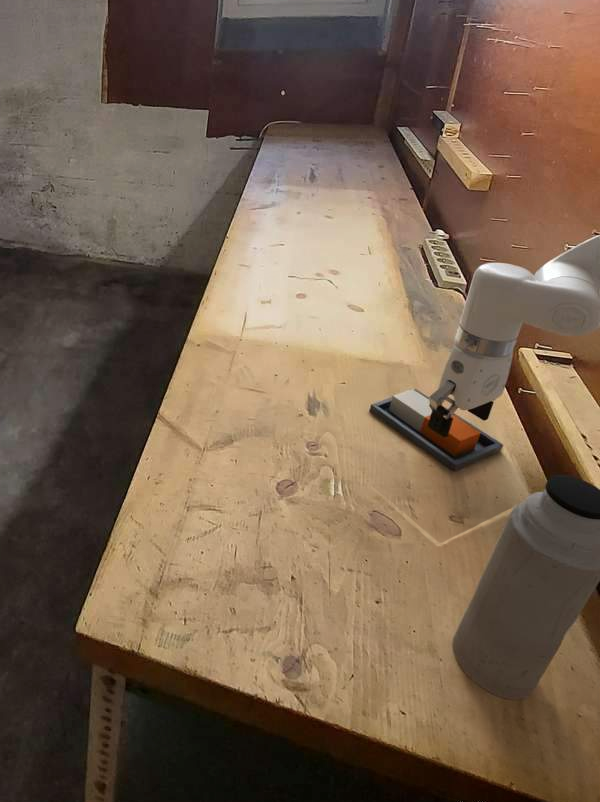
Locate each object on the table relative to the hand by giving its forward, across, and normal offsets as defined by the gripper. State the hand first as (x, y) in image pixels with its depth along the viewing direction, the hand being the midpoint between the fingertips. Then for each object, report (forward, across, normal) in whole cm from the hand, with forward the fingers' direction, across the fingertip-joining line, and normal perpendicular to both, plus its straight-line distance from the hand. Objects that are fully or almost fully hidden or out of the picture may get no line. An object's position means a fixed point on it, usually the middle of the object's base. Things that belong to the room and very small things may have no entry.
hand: (457, 423), depth 96 cm
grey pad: (+4, 0, +7) cm, 8 cm away
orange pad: (+4, 0, +1) cm, 4 cm away
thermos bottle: (+5, -29, -27) cm, 40 cm away
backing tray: (+4, 0, +3) cm, 6 cm away
